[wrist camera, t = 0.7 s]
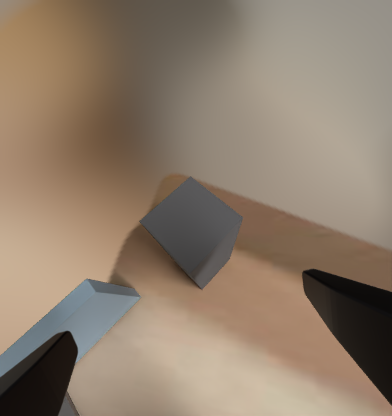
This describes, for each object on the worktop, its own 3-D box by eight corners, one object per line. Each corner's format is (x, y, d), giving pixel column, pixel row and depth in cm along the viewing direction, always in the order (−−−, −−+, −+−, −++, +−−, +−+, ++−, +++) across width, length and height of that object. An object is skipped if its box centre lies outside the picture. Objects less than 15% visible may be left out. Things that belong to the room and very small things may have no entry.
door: (57, 381, 18) (-65, 440, 10) (44, 355, 19) (-76, 390, 11) (141, 297, 21) (95, 292, 13) (125, 277, 22) (75, 262, 14)
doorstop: (229, 259, 23) (243, 217, 12) (202, 289, 21) (189, 273, 11) (201, 233, 24) (190, 176, 13) (174, 260, 23) (139, 221, 12)
